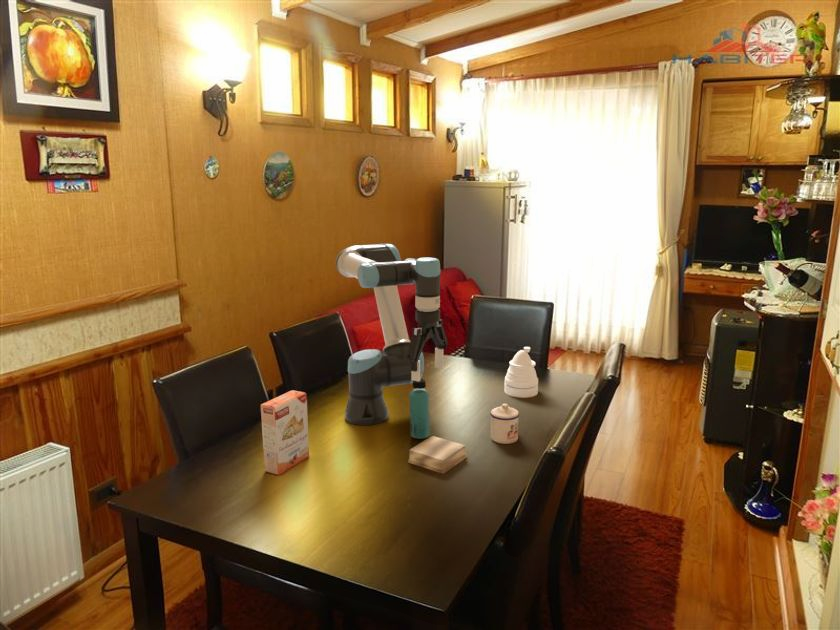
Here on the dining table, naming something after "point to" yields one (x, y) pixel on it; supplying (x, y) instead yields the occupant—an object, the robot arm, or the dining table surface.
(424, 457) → the tan flat square block
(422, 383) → the beverage bottle
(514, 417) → the teacup with lid
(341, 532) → the dining table surface
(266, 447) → the cracker box
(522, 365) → the honey pot
